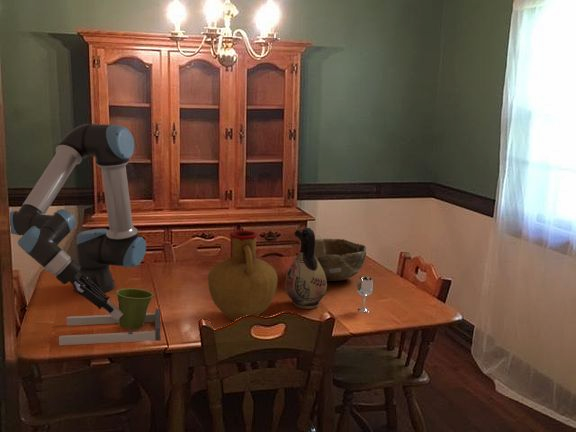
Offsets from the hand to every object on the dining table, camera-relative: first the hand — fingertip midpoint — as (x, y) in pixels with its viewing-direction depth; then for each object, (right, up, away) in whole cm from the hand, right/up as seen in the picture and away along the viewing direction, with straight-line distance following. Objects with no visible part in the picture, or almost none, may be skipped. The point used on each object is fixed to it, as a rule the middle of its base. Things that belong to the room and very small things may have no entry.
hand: (120, 316), depth 200 cm
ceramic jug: (+60, -1, +30) cm, 68 cm away
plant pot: (+2, -4, +4) cm, 6 cm away
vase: (+38, -3, +17) cm, 41 cm away
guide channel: (-3, -5, +1) cm, 6 cm away
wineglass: (+81, -2, +27) cm, 86 cm away
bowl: (+73, +5, +63) cm, 96 cm away
